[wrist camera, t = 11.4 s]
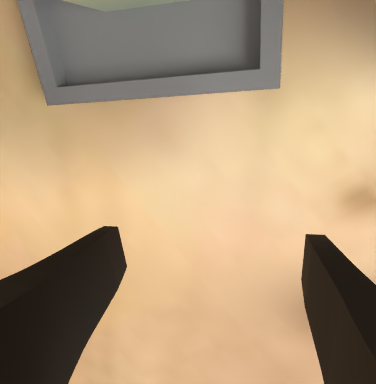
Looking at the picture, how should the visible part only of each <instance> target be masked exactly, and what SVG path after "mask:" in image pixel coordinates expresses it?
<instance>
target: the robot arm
mask: <svg viewBox="0 0 376 384" xmlns="http://www.w3.org/2000/svg"><path fill="white" fill-rule="evenodd" d="M126 268H127V264H126V260H125V256H124V251H123V247H122V243H121V238H120V234H119V230H118V227H112V226H104V227H102V228H99V229H97V230H95V231H93V232H92V233H90V234H88V235H86V236H84V237H83V238H81V239H79V240H77V241H76V242H74V243H72V244H70V245H69V246H67V247H65V248H63V249H62V250H60V251H58V252H56V253H54V254H52V255H51V256H49V257H47V258H45V259H43V260H41V261H39V262H37V263H35V264H34V265H32V266H30V267H28V268H26V269H24V270H21V271H19V272H17V273H15V274H13V275H10V276H8V277H6V278H4V279H1V280H0V384H68V383H69V380H70V378H71V376H72V373H73V371H74V369H75V367H76V365H77V363H78V360H79V358H80V356H81V354H82V352H83V350H84V348H85V346H86V344H87V342H88V340H89V338H90V337H91V335H92V333H93V331H94V330H95V328H96V326H97V324H98V323H99V321H100V319H101V318H102V316H103V314H104V312H105V311H106V309H107V307H108V306H109V304H110V302H111V300H112V299H113V297H114V295H115V293H116V291H117V290H118V288H119V285H120V283H121V281H122V278H123V276H124V273H125V270H126ZM301 280H302V288H303V296H304V303H305V309H306V313H307V317H308V321H309V325H310V328H311V332H312V336H313V340H314V344H315V348H316V352H317V355H318V359H319V363H320V367H321V371H322V375H323V380H324V384H376V285H375V284H374V283H373V282H372V281H371V280H370V279H369V278H368V277H366V276H365V275H364V274H363V273H362V272H361V271H360V270H359V269H358V268H357V267H356V266H355V265H354V264H353V263H352V262H351V261H350V260H349V259H348V258H347V257H346V256H345V255H344V254H343V253H342V252H341V251H340V250H339V249H338V248H337V247H336V246H335V245H334V244H333V243H332V242H331V241H330V240H329V239H328V238H327V237H326V236H325V235H312V234H306V238H305V248H304V259H303V269H302V279H301Z"/></svg>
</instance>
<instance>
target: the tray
mask: <svg viewBox="0 0 376 384" xmlns="http://www.w3.org/2000/svg"><path fill="white" fill-rule="evenodd" d="M17 3H18V6H19V9H20V13H21V16H22V20H23V23H24V27H25V30H26V33H27V37H28V40H29V44H30V47H31V51H32V54H33V57H34V61H35V64H36V68H37V71H38V75H39V78H40V81H41V85H42V88H43V92H44V95H45V99H46V102H47V105H61V104H74V103H88V102H102V101H115V100H129V99H142V98H156V97H169V96H183V95H196V94H210V93H223V92H237V91H250V90H264V89H277V88H280V73H281V49H282V25H283V0H188V1H181V2H174V3H167V4H160V5H152V6H145V7H138V8H131V9H124V10H117V11H110V12H103V11H99V10H95V9H92V8H88V7H85V6H81V5H77V4H74V3H70V2H67V1H63V0H17Z"/></svg>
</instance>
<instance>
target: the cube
mask: <svg viewBox="0 0 376 384" xmlns="http://www.w3.org/2000/svg"><path fill="white" fill-rule="evenodd" d="M63 1H67V2H70V3H74V4H77V5H81V6H85V7H88V8H92V9H95V10H99V11H103V12H110V11H117V10H124V9H131V8H138V7H145V6H152V5H160V4H167V3H174V2H181V1H188V0H63Z"/></svg>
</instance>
